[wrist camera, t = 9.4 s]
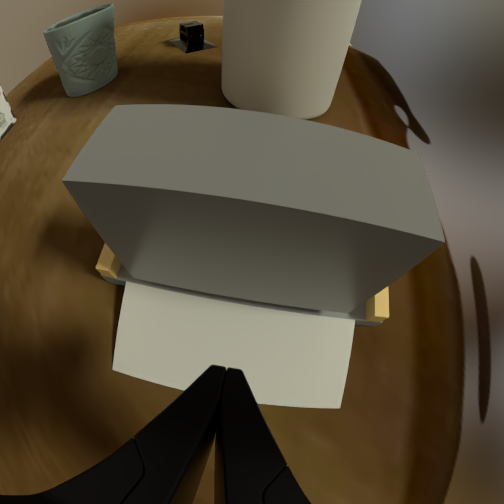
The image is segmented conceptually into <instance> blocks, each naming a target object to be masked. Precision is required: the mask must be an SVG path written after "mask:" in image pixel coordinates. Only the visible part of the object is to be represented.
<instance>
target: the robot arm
mask: <svg viewBox="0 0 504 504" xmlns="http://www.w3.org/2000/svg"><path fill="white" fill-rule="evenodd" d="M216 429H217V430H216ZM215 434H216V438H215ZM214 439H215V482H214V504H311V503H310V501H309V500H308V499H307V497H306V496H305V494H304V493H303V491H302V489H301V488H300V486H299V484H298V483H297V481H296V479H295V478H294V476H293V474H292V472H291V470H290V468H289V467H288V466H286V465H287V463H286V461H285V459H284V457H283V455H282V453H281V451H280V449H279V447H278V445H277V443H276V441H275V439H274V437H273V435H272V433H271V431H270V429H269V427H268V425H267V423H266V421H265V419H264V416H263V414H262V412H261V410H260V408H259V406H258V404H257V401H256V399H255V397H254V395H253V393H252V390H251V388H250V386H249V384H248V382H247V379H246V377H245V375H244V373H243V371H242V370H241V369H237V368H231V367H228V368H227V370H226V367H224V366H219V365H214V364H213V365H211V366H209V367H208V368H207V369H206V370H205V371H204V372H203V373H202V374H201V375H200V376H199V377H198V378H197V379H196V380H195V381H194V382H193V383H192V384H191V385H190V386H189V387H188V388H187V389H185V390H184V391H183V392H182V393H181V394H180V395H179V396H178V397H177V398H176V399H175V400H174V401H173V402H172V403H170V404H169V405H168V406H167V407H166V408H165V409H164V410H163V411H162V412H161V413H159V414H158V415H157V416H156V417H155V418H154V419H153V420H152V421H151V422H149V423H148V424H147V425H146V426H145V427H144V428H143V429H141V430H140V431H139V432H138V433H137V434H136V435H135V436H134V438H131V439H130V440H128V441H127V442H126V443H125V444H124V445H123V446H121V447H120V448H119V449H118V450H116V451H115V452H114V453H112V454H111V455H110V456H108V457H107V458H106V459H104V460H102V461H101V462H99V463H98V464H96V465H94V466H93V467H91V468H90V469H88V470H86V471H84V472H82V473H81V474H79V475H77V476H75V477H73V478H71V479H69V480H68V481H66V482H64V483H62V484H60V485H58V486H56V487H54V488H52V489H49V490H47V491H44V492H41V493H37V494H32V495H0V504H192V503H193V500H194V497H195V495H196V492H197V489H198V486H199V483H200V480H201V477H202V475H203V472H204V469H205V466H206V463H207V460H208V457H209V454H210V451H211V448H212V445H213V442H214Z"/></svg>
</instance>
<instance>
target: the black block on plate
mask: <svg viewBox="0 0 504 504" xmlns="http://www.w3.org/2000/svg"><path fill="white" fill-rule="evenodd" d="M179 31H180V38H179V39H174V40H170V42H171V43H172V44H174V45H175V46H176V47H178V48H179V49H180V50H182V51H183V52H184V53H190V52H195V51H200V50H205V49H210V48H215V47H217V46H216V45H214V44H212V43H210V42H209V41H207V40H205V39H204V29H203V24H201V23H199V22H197V21H192V22H186V23H181V24H180V28H179ZM200 35H201V36H200Z"/></svg>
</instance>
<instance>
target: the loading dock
mask: <svg viewBox="0 0 504 504" xmlns="http://www.w3.org/2000/svg"><path fill="white" fill-rule="evenodd" d="M96 269H97V270H98V271H99V272H100V273H101V274H100V275H101V276H102V277H103V278H104V279H105V280H106V281H107V282H110V283H114V284H118V285H122V286H125V291H124V296H123V301H122V306H121V312H120V317H119V324H118V330H117V337H116V344H115V351H114V360H113V369H112V370H115V371H118V372H121V373H124V374H127V375H130V376H133V377H137V378H140V379H143V380H147V381H150V382H154V383H157V384H161V385H165V386H169V387H173V388H177V389H181V390H185V389H187V388H188V387H189V386H190V385H191V384H192V383H193V382H194V381H195V380H196V379H197V378H198V377H199V376H200V375H201V374H202V373H203V372H204V371H205V370H206V369H207V368H208V367H209V366H211V365H213V364H214V365H219V366H224V367H226V370H227V368H228V367H231V368H237V369H241V370H242V371H243V373H244V375H245V377H246V379H247V382H248V384H249V386H250V388H251V390H252V393H253V395H254V397H255V399H256V401H257V403H260V404H269V405H279V406H292V407H308V408H340V405H341V401H342V396H343V391H344V386H345V381H346V376H347V371H348V365H349V359H350V353H351V347H352V340H353V333H354V325H363V326H376V325H378V324H380V323H382V322H383V320H385V319H387V318H389V293H388V286H387V287H386V288H385V289H383V290H382V291H380V292H379V293H377V294H376V295H375V296H373V297H372V298H370V299H369V300H367V301H366V302H364V303H363V304H361V305H360V306H358V307H357V308H355V309H353V310H352V311H350V312H349V313H340V312H332V311H324V310H316V309H308V308H300V307H293V306H286V305H279V304H272V303H265V302H259V301H253V300H246V299H240V298H234V297H228V296H222V295H217V294H211V293H206V292H200V291H195V290H189V289H184V288H179V287H174V286H169V285H164V284H159V283H154V282H150V281H145V280H140V279H136V278H133V277H132V275H131V274H130V273H129V272H128V271H127V269H126V268H125V267H124V266H123V265H122V263H121V262H120V261H119V260H118V258H117V257H116V256H115V255H114V253H113V252H112V251H111V250H110V248H109V247H108V246H107V244H106V243H105V244H104V247H103V249H102V252H101V254H100V257H99V260H98V263H97V265H96Z"/></svg>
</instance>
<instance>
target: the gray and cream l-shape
mask: <svg viewBox="0 0 504 504" xmlns="http://www.w3.org/2000/svg"><path fill="white" fill-rule="evenodd" d="M62 182H63V183H64V185H65V186H66V188H67V189H68V191H69V192H70V194H71V195H72V197H73V198H74V200H75V201H76V203H77V204H78V206H79V207H80V209H81V210H82V212H83V213H84V214H85V216H86V217H87V219H88V220H89V221H90V223H91V224H92V226H93V227H94V228H95V230H96V231H97V232H98V234H99V235H100V236H101V238H102V239H103V240H104V242H105V243H106V244H107V246H108V247H109V248H110V250H111V251H112V252H113V253H114V255H115V256H116V257H117V258H118V260H119V261H120V262H121V263H122V265H123V266H124V267H125V268H126V269H127V271H128V272H129V273H130V274H131V275H132V277H133V278H136V279H140V280H145V281H150V282H154V283H159V284H164V285H169V286H174V287H179V288H184V289H189V290H195V291H200V292H206V293H211V294H217V295H222V296H228V297H234V298H240V299H246V300H253V301H259V302H265V303H272V304H279V305H286V306H293V307H300V308H308V309H316V310H324V311H332V312H340V313H349V312H350V311H352V310H353V309H355V308H357V307H358V306H360V305H361V304H363V303H364V302H366V301H367V300H369V299H370V298H372V297H373V296H375V295H376V294H377V293H379V292H380V291H382V290H383V289H385V288H386V287H387V286H389V285H390V284H392V283H393V282H394V281H396V280H397V279H399V278H400V277H401V276H403V275H404V274H405V273H407V272H408V271H409V270H411V269H412V268H413V267H415V266H416V265H417V264H418V263H420V262H421V261H422V260H424V259H425V258H426V257H427V256H429V255H430V254H431V253H432V252H434V251H435V250H436V249H437V248H438V247H440V246H441V245H442V244H443V243H444V242H445V240H444V236H443V231H442V227H441V223H440V219H439V215H438V211H437V207H436V204H435V200H434V197H433V194H432V190H431V187H430V184H429V181H428V178H427V175H426V172H425V169H424V166H423V163H422V161H421V158H420V155H419V153H416V152H414V151H411V150H409V149H406V148H403V147H400V146H398V145H395V144H392V143H389V142H386V141H383V140H380V139H377V138H373V137H370V136H367V135H363V134H360V133H357V132H353V131H349V130H346V129H342V128H338V127H334V126H330V125H326V124H322V123H317V122H313V121H308V120H303V119H298V118H293V117H288V116H282V115H276V114H270V113H264V112H257V111H250V110H242V109H233V108H223V107H211V106H197V105H172V104H139V105H115V107H114V108H113V109H112V110H111V111H110V113H109V114H108V115H107V116H106V117H105V119H104V120H103V121H102V123H101V124H100V125H99V126H98V128H97V129H96V130H95V132H94V133H93V134H92V136H91V137H90V138H89V140H88V141H87V143H86V144H85V145H84V147H83V148H82V150H81V151H80V153H79V154H78V156H77V157H76V159H75V160H74V162H73V163H72V165H71V166H70V168H69V170H68V171H67V173H66V174H65V176H64V178H63V179H62Z"/></svg>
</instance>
